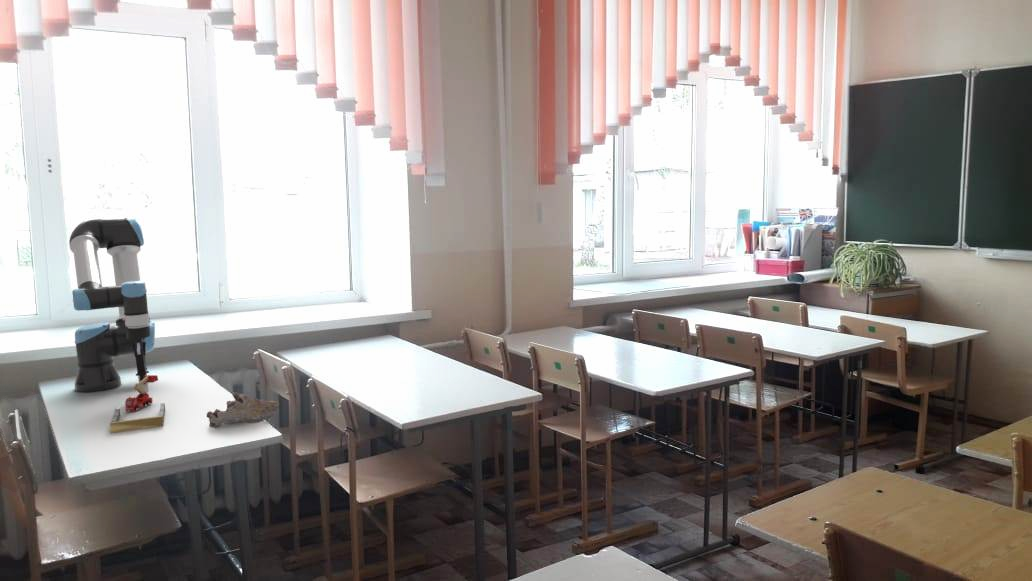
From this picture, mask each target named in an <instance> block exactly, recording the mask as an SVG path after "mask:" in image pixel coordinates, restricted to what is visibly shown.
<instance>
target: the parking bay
mask: <svg viewBox="0 0 1032 581" xmlns="http://www.w3.org/2000/svg"><path fill="white" fill-rule="evenodd" d="M159 406H160V407H159V412H158V415H156V416H149V417H141V418H133V419H126V420H121V408H115V410H114V413H113V415H112V419H111V420H110V422H109V430H110V434H114V433H121V432H128V431H135V430H138V431H139V430H144V429H150V428H158V427H159V428H160V427H163V426H164V422H165V416H166V415H165V414H166V405H165V402H163V403H160V405H159Z"/></svg>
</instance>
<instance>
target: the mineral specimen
mask: <svg viewBox="0 0 1032 581" xmlns="http://www.w3.org/2000/svg"><path fill="white" fill-rule="evenodd" d="M232 397H233V398H234V399H233V400H227V401H226V410H220V409H217V408H215V410H214V411H210V410H209V411H207V413H206V418H208V421H209V427H210V428H216V427H218V426H221V425H223V424H225V425H226V424H229V425H230V424H233V423H235V422H241V423H256V422H260V421H263V420H265V419H269V418H272V417H274V416H275V415H276V414H277V413H278V412H279V405H280V402H279V401H276V400H266V399H265V398H262V399H258V398H256V397H254V396H252V397H251V396H248V395H247V394H245V393H244V394H243V393H239V392H238V391H237V392H233V393H232Z"/></svg>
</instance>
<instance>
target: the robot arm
mask: <svg viewBox="0 0 1032 581" xmlns="http://www.w3.org/2000/svg"><path fill="white" fill-rule="evenodd" d="M68 244H69V249H70V251H71V253H73V258H74V266H75V275H76V283H77V284H76V285H77V288H75V289H73V290H72V292H71V294H72V303H73V309H74V310H75V311H78V312H79V311H86V312H87V311H95V310H103V309H112V308H118V314H119V316H118V317H117V318H116V320H115V325H111V324H110V322H107V321H104V322H98V323H97V322H95V323H91V324H88V325H84V326H81V327H79V328H77V329H76V330H75V332H74V344H75V350H76V359H77V360H76V361H77V373H76V376H75V381H74V390H75V391H76V392H79V393H82V392H83V393H91V392H99V391H106V390H110V389H114V388H117V387H119V386H121V385H122V379H121V378H122V377H121V376H120V374H119V372H118V370H117V368H116V366H115V362H114V358H115V357H116V358H117V357H124V356H130V355H132V356H133V355H134V357H135V364H136V370H137V373H135V376H136V377H138V383H139V382H140V381H142V380H143V379H144V378H143V376H146V375H148V374H149V373H150V371H149V370H147V369H148V368H147V360H146V358H147V357H146V355H147V354H146V353H150V352H152V351H153V350H154V349H155V338H156V337H155V335H156V334H155V333H156V329H155V328H156V326H155V324H156V323H155V321H153V320H151V318H150V315H149V314H150V313H149V309H148V308H149V307H148V296H147V288H146V283H145V281H143V280H141V276H140V269H139V262H138V261H139V260H138V253H140V251H141V247H142V246H144V244H145V241H144V236H143V230H142V226H141V224H140V222H139V220H138V218H137V217H135V216H124V215H123V216H111V217H110V216H109V217H91V218H89V219H86V220H84V221H82V222H80V223H79V224H78V225H77V226H76V227H75V228H74V229H73V231H72V232H71V234H70V236H69V243H68ZM99 249H106V253H107V254H109V255H110V256H111V258H112V264H113V275H114V282H115V285H112V286H103V283H102V277H101V276H102V275H101V269H100V263H99V262H100V261H99V256H98V251H99ZM142 387H143V388H144V390H145V391H146V393H148V394H149V392H150V391H149V383H144V384H142Z"/></svg>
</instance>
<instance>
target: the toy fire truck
mask: <svg viewBox="0 0 1032 581" xmlns="http://www.w3.org/2000/svg"><path fill="white" fill-rule="evenodd" d="M143 378H144V379H143V380H142V381H140V382H139V381H138V383H135V386H133V388H134V390H135V391H136V392H138V395H137V396H136V397H135V396H134V397H130V396H129V397H128V398H126V399H125V402H124V406H125V412H127V413H128V412H131V413H132V412H138V411H139V410H140V409H142V408H147V407H149V406H151V404H153V397H150V394H149V393H146V391H145V390H144V388H143V387H142V384H144V383H148V384H149V383H151V384H152V383H155V382H157V381H159V379H158V375H154V374H153V375H152V374H151V375H150V374H149V375H148V374H147V375H146V376H143Z"/></svg>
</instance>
